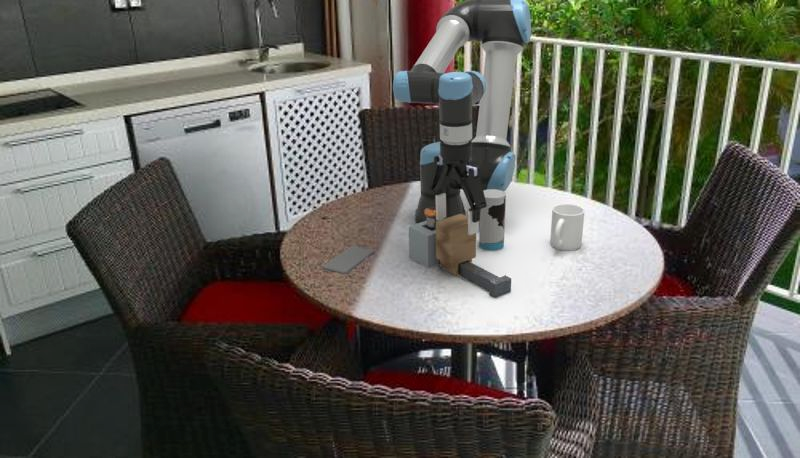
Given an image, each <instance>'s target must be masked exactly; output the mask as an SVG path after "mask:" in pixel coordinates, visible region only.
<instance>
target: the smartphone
mask: <svg viewBox="0 0 800 458" xmlns="http://www.w3.org/2000/svg"><path fill="white" fill-rule="evenodd" d="M375 252H376V251H375V250H374V249H373V248H368V247H363V246H359V245H354V244H352V245H350V246H349V247H348V248H346V249H345V250H344V251H342V252H340V253H339V254H337V255H336V256H335V257H334V258H332V259H331V260H330V261H329V260H328V262H325V264H324V265H322V267H321V268H322V270H325V271H329V272H334V273H337V274H341V275H346V274H349V272H351V271H352V270H353V269H355V268H356V267H357V266H359V265H361V263H363V262H364V261H366V260H367V259H368V258H369V257H371V256H372V255H374V254H375Z"/></svg>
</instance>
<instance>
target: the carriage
mask: <svg viewBox="0 0 800 458" xmlns="http://www.w3.org/2000/svg"><path fill="white" fill-rule="evenodd" d="M436 258H437V259H439V260H440V265H439V266H440V268H441V269H443V270H445V271H447V272H449V273H451V274H452V275H454V276H459V275H458V264H459V263H462V262H465V261H469V262H471V263H473V262H472V261H473V259H475V258H477V233H475V234H472V235H469V234H468V215H466V216H465V215H463V214H458V215H455V216H452V217H448V218H445V219H442V220H439V221H436Z"/></svg>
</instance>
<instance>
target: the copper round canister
mask: <svg viewBox="0 0 800 458" xmlns="http://www.w3.org/2000/svg"><path fill="white" fill-rule="evenodd" d="M425 215H426V216H427V229H429V230H431V231H433V230H436V221H439V220H436V207H430V208H426V209H425Z"/></svg>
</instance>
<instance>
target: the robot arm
mask: <svg viewBox="0 0 800 458" xmlns="http://www.w3.org/2000/svg"><path fill="white" fill-rule="evenodd" d="M531 19H532V18H531V13H530V7H529V5H528V2H527V1H526V0H464V1H463V2H461V3H458V4H456V5H455V6H453V7H452V8H450V9H449V10H448V11H446V13H444V14H443V15H442V16H441V18H440V19H439V20H438V22H437V25H436V27H435V29H436V30H435V33H434V35H433V36H432V38H431V40H430V41H429V42H428V44H427V46H426V47H425V48H424V50H423V51H422V53H421V55H420V56H419V57H418V59H417V61H416V62H415V64H413V66H412V68H410V70H399V71H398V72H396V73H395V75H394V78H393V81H392V82H393V83H392V92H393V96H394V99H396V101H399V102H403V103H405V102H406V103H409V104H413V103H415V104H416V103H417V104H435V105H438V109H439V110H438V112H439V138H440V140H441V141H437V142H433V143H429V144H427V145H424V146H423V147H422V148H421V150H420V158H419V159H420V161H419V173H420V174H419V178H420V196H419V200H418V203H417V208H416V209H415V212H414V221H415V224H417V223H421V222H424V221H427V216H426V215H425V209H426V208H430V207H436V220H440V219H445V218H448V217H452V216H455V215H458V214H463V215H465V216H467V217H468V234H469V235H472V234H475V233H476V234H477V233H478V234H479V227H480V209H483V208H485V207H487V204H486V200H485V196H484V192H483V191H484V190H489V189H496V190H501V191H504V192H506V191H507V190H508V188H509V186H510V184H511V182H512V179H513V177H514V176H513V175H514V172H515V168H516V159H517V158H516V154H515V152H513V151H511V149H512V146H511V145H510V143H509V141H507V136H508V127H509V121H510V111H511V105H512V104H511V102H512V95H513V87H514V78H515V70H516V62H517V55H519V54H521V53H522V52H523V50H524V44H528V43H530V42H531V35H532V21H531ZM468 42H481V48H482V49H483V51H484V52H485V58H484V67H483V74H481V73H480V72H477V71H476V70H468V71H452V72H446V70H447V68H449V67H448V66H449V65H450V63H451V62H452V60H453V59H454V57H455V55H456V53H457V52H458V50H459V49H460V48H461V47H463V46H465V44H467V43H468ZM478 102H479V109H478V115H477V116H478V118H477V124H476V132H475V137H474V138H473V106H474V105H476V104H477V103H478ZM461 190H462V191H463V193H464V195H465V198H466V200H467V203H468V205H469V208H468V209H467V211H466V209H465V205H464V202H463V199H462V196H461Z"/></svg>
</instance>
